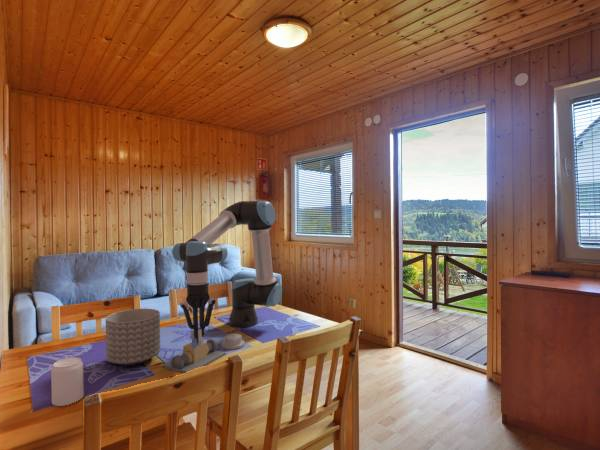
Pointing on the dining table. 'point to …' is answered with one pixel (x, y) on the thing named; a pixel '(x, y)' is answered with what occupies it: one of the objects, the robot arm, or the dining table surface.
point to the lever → (193, 340)
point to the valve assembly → (195, 357)
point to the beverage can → (67, 381)
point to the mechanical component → (232, 341)
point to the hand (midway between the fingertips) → (199, 345)
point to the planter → (132, 336)
